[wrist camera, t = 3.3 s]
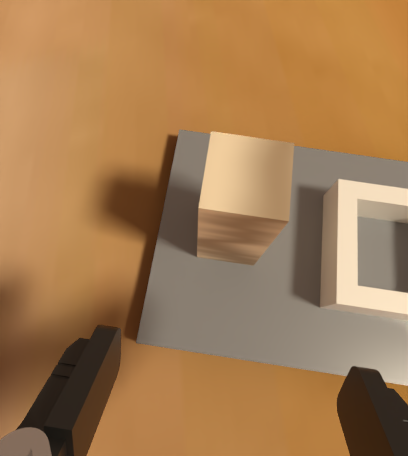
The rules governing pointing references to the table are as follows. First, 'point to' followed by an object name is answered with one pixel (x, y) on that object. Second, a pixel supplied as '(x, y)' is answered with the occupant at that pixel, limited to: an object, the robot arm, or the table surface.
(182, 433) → the table surface
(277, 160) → the block
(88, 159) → the table surface
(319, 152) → the jig board
